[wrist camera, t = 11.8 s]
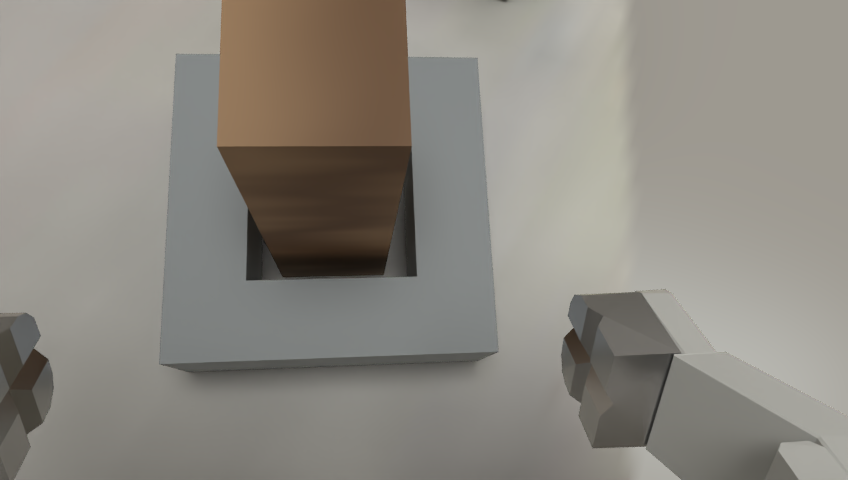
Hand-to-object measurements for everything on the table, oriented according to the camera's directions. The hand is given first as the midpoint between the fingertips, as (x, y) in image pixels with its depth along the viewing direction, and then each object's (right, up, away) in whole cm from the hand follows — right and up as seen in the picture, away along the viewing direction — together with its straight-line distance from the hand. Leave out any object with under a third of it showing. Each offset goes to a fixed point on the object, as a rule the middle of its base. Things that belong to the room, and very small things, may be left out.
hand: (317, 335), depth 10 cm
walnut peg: (-2, +2, +14) cm, 14 cm away
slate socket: (-2, +2, +14) cm, 14 cm away
